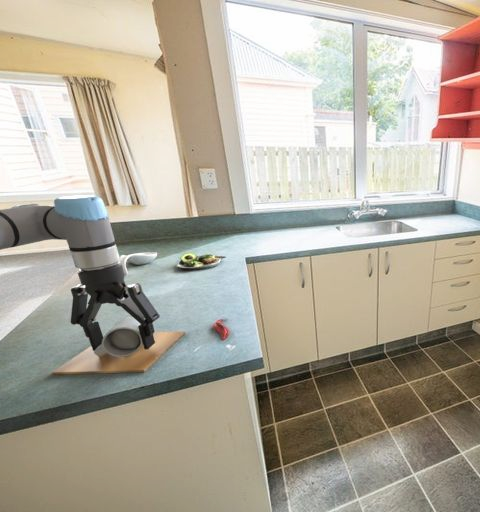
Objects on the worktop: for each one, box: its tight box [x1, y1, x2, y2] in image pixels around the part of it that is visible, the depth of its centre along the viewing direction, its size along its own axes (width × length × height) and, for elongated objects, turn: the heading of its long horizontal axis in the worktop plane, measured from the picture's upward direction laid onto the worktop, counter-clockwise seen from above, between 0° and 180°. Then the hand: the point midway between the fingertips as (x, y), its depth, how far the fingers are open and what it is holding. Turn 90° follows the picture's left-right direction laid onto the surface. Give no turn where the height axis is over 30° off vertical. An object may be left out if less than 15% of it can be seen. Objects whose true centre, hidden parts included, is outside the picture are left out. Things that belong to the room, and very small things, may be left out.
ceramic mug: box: [94, 316, 143, 357], centre depth 73 cm, size 11×8×8 cm
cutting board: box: [51, 330, 186, 376], centre depth 74 cm, size 20×16×1 cm
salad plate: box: [177, 252, 228, 272], centre depth 136 cm, size 19×18×5 cm
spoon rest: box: [118, 251, 158, 276], centre depth 131 cm, size 24×12×7 cm, turn 15°
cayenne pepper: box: [212, 318, 230, 341], centre depth 84 cm, size 12×5×2 cm, turn 22°
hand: (124, 346), depth 74 cm, fingers closed on ceramic mug, 11 cm apart
